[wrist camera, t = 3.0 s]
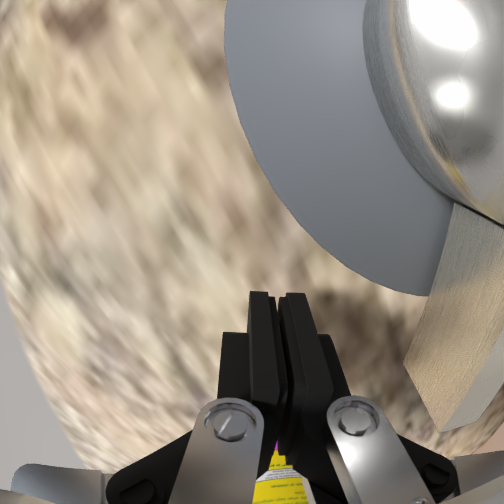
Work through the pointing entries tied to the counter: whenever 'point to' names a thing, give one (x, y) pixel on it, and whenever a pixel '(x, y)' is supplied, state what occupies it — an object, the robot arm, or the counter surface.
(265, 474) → the supplement bottle
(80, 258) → the counter surface
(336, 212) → the base plate
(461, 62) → the dial
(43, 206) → the counter surface
